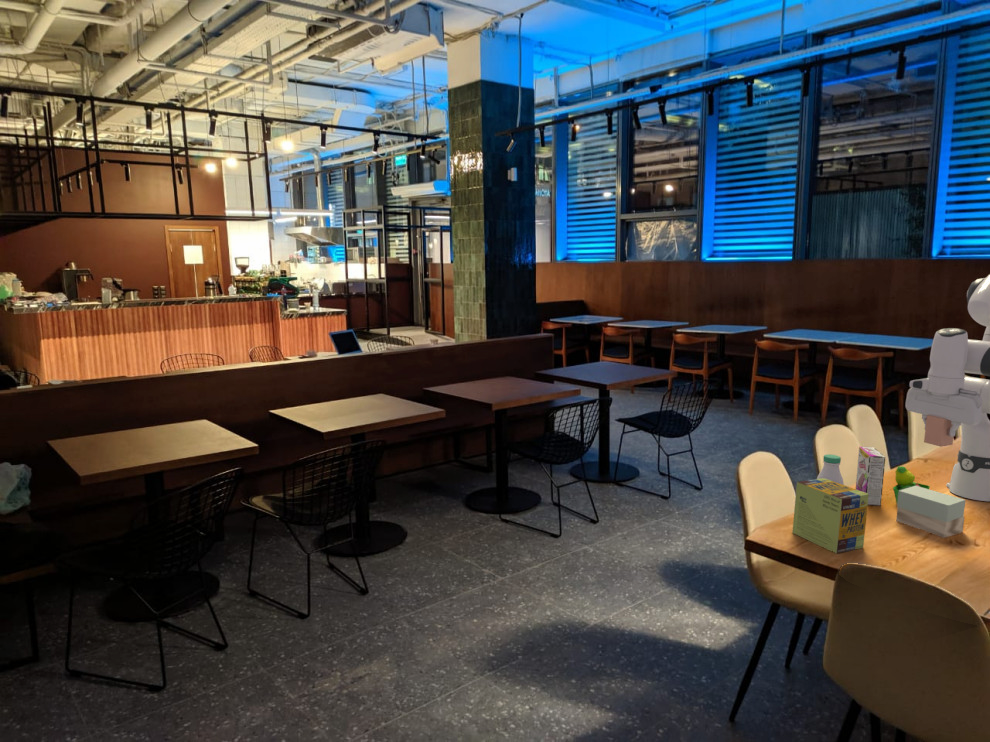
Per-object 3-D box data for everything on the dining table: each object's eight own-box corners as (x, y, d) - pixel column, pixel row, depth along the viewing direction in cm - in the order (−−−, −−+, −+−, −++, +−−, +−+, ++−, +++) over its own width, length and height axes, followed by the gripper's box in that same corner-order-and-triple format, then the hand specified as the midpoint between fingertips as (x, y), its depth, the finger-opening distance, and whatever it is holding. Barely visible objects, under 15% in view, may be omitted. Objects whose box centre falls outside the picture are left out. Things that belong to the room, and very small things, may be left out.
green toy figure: (916, 509, 217) (920, 475, 215) (886, 501, 223) (889, 468, 222) (929, 501, 224) (932, 467, 222) (899, 493, 231) (902, 461, 229)
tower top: (913, 501, 211) (915, 485, 210) (963, 516, 199) (965, 499, 198) (896, 506, 206) (898, 490, 205) (946, 522, 194) (948, 505, 193)
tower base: (914, 516, 211) (916, 501, 211) (962, 533, 199) (964, 516, 198) (896, 521, 207) (897, 506, 207) (943, 538, 195) (945, 522, 194)
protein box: (836, 554, 184) (842, 499, 181) (791, 533, 198) (795, 481, 195) (864, 548, 188) (870, 493, 185) (818, 527, 202) (822, 476, 199)
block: (935, 440, 202) (938, 413, 201) (952, 444, 198) (955, 417, 196) (923, 442, 200) (927, 415, 199) (940, 446, 196) (943, 419, 194)
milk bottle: (807, 515, 211) (812, 452, 208) (831, 515, 212) (837, 452, 208) (821, 525, 203) (827, 460, 200) (846, 524, 204) (852, 459, 201)
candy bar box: (853, 493, 231) (858, 446, 228) (870, 494, 230) (874, 447, 227) (864, 505, 220) (869, 455, 217) (881, 506, 219) (886, 456, 216)
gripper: (990, 391, 188) (983, 441, 190) (919, 379, 206) (914, 424, 209) (975, 393, 185) (968, 443, 188) (904, 380, 204) (899, 425, 206)
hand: (939, 433), depth 198 cm, fingers closed on block, 5 cm apart
